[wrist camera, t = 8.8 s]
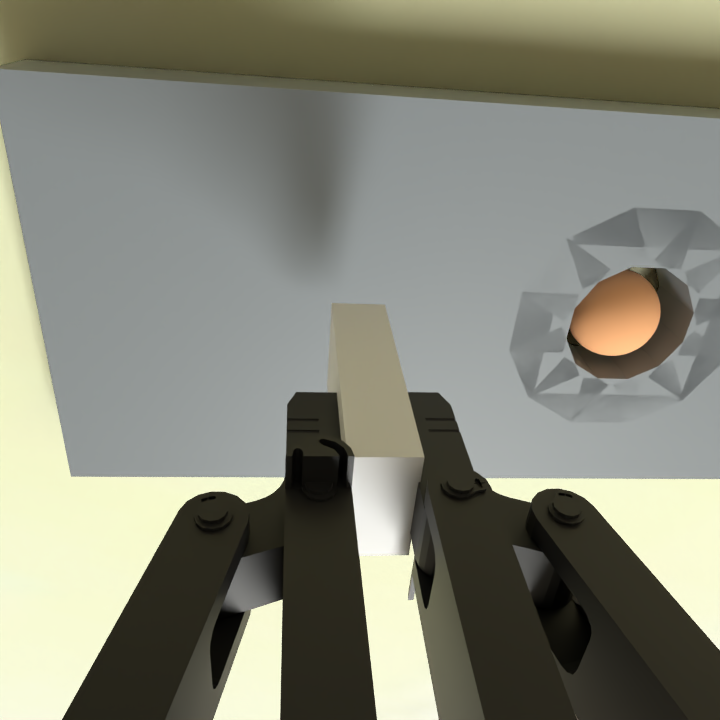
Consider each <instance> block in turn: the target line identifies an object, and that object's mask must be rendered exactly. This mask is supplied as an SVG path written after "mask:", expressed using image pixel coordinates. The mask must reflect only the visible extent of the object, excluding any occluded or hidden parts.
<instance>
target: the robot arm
mask: <svg viewBox="0 0 720 720" xmlns="http://www.w3.org/2000/svg"><path fill="white" fill-rule="evenodd" d="M327 390H328V392H296V393H295V394H294V396H293V397H292V398H291V400H290V401H289V402H288V404H287V434H286V459H285V478H284V481H283V483H282V485H281V486H280V487H279V488H278V489H277V490H276V491H275V492H274V493H272V494H271V495H269V496H267V497H265V498H263V499H260V500H257V501H253V502H249V503H245V502H244V501H242V500H241V499H240V498H239V497H238V496H236V495H232V494H229V493H226V492H208V493H204V494H200V495H197V496H196V497H194V498H192V499H190V500H189V501H187V502H186V503H185V504H184V505H183V506H182V508H181V509H180V510H179V511H178V513H177V515H176V517H175V519H174V520H173V522H172V524H171V526H170V527H169V529H168V531H167V533H166V535H165V536H164V538H163V540H162V542H161V544H160V545H159V547H158V549H157V551H156V552H155V554H154V556H153V558H152V560H151V561H150V563H149V565H148V567H147V569H146V570H145V572H144V574H143V576H142V578H141V579H140V581H139V583H138V585H137V586H136V588H135V590H134V592H133V594H132V595H131V597H130V599H129V601H128V603H127V604H126V606H125V608H124V610H123V612H122V613H121V615H120V617H119V619H118V620H117V622H116V624H115V626H114V628H113V629H112V631H111V633H110V635H109V637H108V638H107V640H106V642H105V644H104V646H103V647H102V649H101V651H100V653H99V654H98V656H97V658H96V660H95V662H94V663H93V665H92V667H91V669H90V671H89V672H88V674H87V676H86V678H85V680H84V681H83V683H82V685H81V687H80V688H79V690H78V692H77V694H76V696H75V697H74V699H73V701H72V703H71V705H70V706H69V708H68V710H67V712H66V713H65V715H64V717H63V719H62V720H213V718H214V715H215V712H216V709H217V707H218V704H219V701H220V698H221V695H222V692H223V690H224V687H225V684H226V681H227V678H228V675H229V673H230V670H231V667H232V664H233V661H234V658H235V656H236V653H237V650H238V647H239V644H240V642H241V639H242V636H243V633H244V630H245V627H246V625H247V622H248V619H249V616H250V611H251V609H254V608H257V607H260V606H263V605H266V604H269V603H272V602H275V601H278V600H282V599H283V614H282V664H281V713H280V720H377V716H376V707H375V698H374V689H373V679H372V670H371V661H370V652H369V643H368V633H367V624H366V615H365V606H364V597H363V587H362V578H361V569H360V560H359V556H372V555H409V549H410V543H411V539H412V544H413V549H414V554H415V557H414V562H413V568H412V574H411V580H410V586H409V593H408V600H413V599H414V593H416V598H417V604H418V609H419V615H420V620H421V625H422V631H423V636H424V641H425V647H426V652H427V658H428V663H429V668H430V674H431V679H432V684H433V690H434V695H435V701H436V706H437V711H438V717H439V720H577V719H576V716H577V718H578V719H579V720H720V650H719V649H718V648H717V647H716V646H715V645H714V644H713V642H712V641H711V640H710V639H709V638H708V637H707V636H706V634H705V633H704V632H703V631H702V630H701V629H700V628H699V626H698V625H697V624H696V623H695V622H694V621H693V620H692V618H691V617H690V616H689V615H688V614H687V613H686V612H685V610H684V609H683V608H682V607H681V606H680V605H679V603H678V602H677V601H676V600H675V599H674V598H673V597H672V595H671V594H670V593H669V592H668V591H667V590H666V589H665V587H664V586H663V585H662V584H661V583H660V582H659V581H658V579H657V578H656V577H655V576H654V575H653V574H652V573H651V571H650V570H649V569H648V568H647V567H646V566H645V565H644V563H643V562H642V561H641V560H640V559H639V558H638V557H637V555H636V554H635V553H634V552H633V551H632V550H631V549H630V547H629V546H628V545H627V544H626V543H625V542H624V540H623V539H622V538H621V537H620V536H619V535H618V534H617V532H616V531H615V530H614V529H613V528H612V527H611V526H610V524H609V523H608V522H607V521H606V520H605V519H604V518H603V516H602V515H601V514H600V513H599V512H598V511H597V510H596V508H595V507H594V506H593V505H592V504H590V503H589V502H588V501H587V500H586V499H585V498H583V497H581V496H579V495H577V494H575V493H573V492H571V491H566V490H562V489H546V490H544V491H541V492H539V493H537V494H536V496H535V497H534V498H533V499H532V502H531V503H530V502H526V501H521V500H517V499H513V498H509V497H506V496H503V495H500V494H498V493H496V492H494V491H492V488H491V486H490V485H489V483H488V482H487V480H486V479H485V478H484V477H482V476H481V475H480V474H478V473H477V472H475V471H474V470H473V467H472V464H471V461H470V458H469V455H468V453H467V450H466V447H465V444H464V441H463V438H462V436H461V433H460V432H459V427H458V424H457V421H455V416H454V413H453V410H452V407H451V405H450V404H449V403H448V402H447V401H446V400H445V399H444V398H443V397H442V396H441V395H440V394H439V393H438V392H407V388H406V384H405V380H404V376H403V373H402V369H401V365H400V361H399V357H398V353H397V349H396V346H395V342H394V338H393V334H392V330H391V326H390V323H389V319H388V315H387V311H386V307H385V305H382V304H347V303H332V306H331V324H330V342H329V360H328V378H327ZM575 714H576V716H575Z"/></svg>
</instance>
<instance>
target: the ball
mask: <svg viewBox="0 0 720 720" xmlns="http://www.w3.org/2000/svg"><path fill="white" fill-rule="evenodd" d="M660 313H661V308H660V301H659V298H658V295H657V293H656V291H655V289H654V288H653V286H652V285H651V284H650V283H649V282H648V281H647V280H646V279H645V278H644V277H643V276H641V275H640V274H638V273H636V272H633V271H631V270H624V271H622V272H620V273H618V274H615V275H613V276H611V277H609V278H607V279H604V280H602V281H600V282H598V283H597V284H596V286H595V287H594V288H593V289H592V290H591V291H590V292H589V293H588V294H587V296H586V297H585V298H584V299H583V300H582V301H581V302H580V303H579V304H578V306H577V307H576V308H575V309H574V313H573V316H572V320H571V324H570V328H569V329H570V331H571V333H572V335H573V336H574V338H575V339H576V340H577V341H578V342H579V343H580V344H581V345H582V346H583V347H585V348H586V349H588V350H590V351H592V352H595V353H597V354H601V355H607V356H617V355H624V354H627V353H630V352H632V351H634V350H637V349H638V348H640V347H641V346H643V345H644V344H645V343H646V342H647V341H648V340H649V339H650V338H651V337H652V335H653V334H654V332H655V330H656V329H657V326H658V324H659V320H660Z"/></svg>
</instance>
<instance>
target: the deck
mask: <svg viewBox="0 0 720 720" xmlns="http://www.w3.org/2000/svg"><path fill="white" fill-rule="evenodd" d="M0 122H1V127H2V132H3V137H4V142H5V147H6V152H7V157H8V162H9V167H10V172H11V177H12V182H13V187H14V192H15V197H16V202H17V208H18V213H19V218H20V223H21V228H22V233H23V238H24V243H25V248H26V253H27V258H28V263H29V268H30V273H31V278H32V283H33V288H34V293H35V298H36V303H37V308H38V313H39V318H40V323H41V328H42V333H43V338H44V343H45V348H46V353H47V358H48V363H49V368H50V373H51V378H52V383H53V388H54V393H55V398H56V403H57V408H58V413H59V418H60V423H61V428H62V433H63V438H64V443H65V448H66V453H67V458H68V463H69V468H70V473H71V476H91V477H285V459H286V434H287V404H288V402H289V401H290V400H291V398H292V397H293V396H294V394H295V393H296V392H328V390H327V378H328V360H329V342H330V324H331V306H332V303H347V304H382V305H385V307H386V311H387V315H388V319H389V323H390V326H391V330H392V334H393V338H394V342H395V346H396V349H397V353H398V357H399V361H400V365H401V369H402V373H403V376H404V380H405V384H406V388H407V392H438V393H439V394H440V395H441V396H442V397H443V398H444V399H445V400H446V401H447V402H448V403H449V404H450V405H451V407H452V410H453V413H454V416H455V421H457V424H458V427H459V432H460V433H461V436H462V438H463V441H464V444H465V447H466V450H467V453H468V455H469V458H470V461H471V464H472V467H473V470H474V471H475V472H477V473H478V474H480V475H481V476H482V477H484V478H626V479H720V109H718V108H704V107H690V106H676V105H662V104H648V103H633V102H619V101H605V100H591V99H577V98H563V97H549V96H534V95H520V94H506V93H492V92H478V91H464V90H450V89H436V88H421V87H407V86H393V85H379V84H365V83H351V82H337V81H323V80H308V79H294V78H280V77H266V76H252V75H238V74H224V73H210V72H195V71H181V70H167V69H153V68H139V67H125V66H111V65H97V64H82V63H68V62H54V61H40V60H26V59H25V60H21V61H17V62H13V63H9V64H5V65H1V66H0ZM631 267H646V268H655V269H656V273H657V277H658V281H659V287H658V290H657V295H658V298H659V301H660V308H661V313H660V320H659V324H658V326H657V329H656V330H655V332H654V334H653V335H652V337H651V338H650V339H649V340H648V341H647V342H646V343H645V344H644V345H643V346H641V347H640V348H638V349H637V350H634V351H632V352H630V353H627V354H624V355H617V356H607V355H601V354H597V353H595V352H592V351H590V350H588V349H586V348H585V347H583V346H573V345H571V344H569V343H568V342H567V335H568V331H569V328H570V324H571V320H572V316H573V313H574V309H575V308H576V307H577V306H578V304H579V303H580V302H581V301H582V300H583V299H584V298H585V297H586V296H587V294H588V293H589V292H590V291H591V290H592V289H593V288H594V287H595V286H596V284H597V283H598V282H600V281H602V280H604V279H607V278H609V277H611V276H613V275H615V274H618V273H620V272H622V271H624V270H627V269H629V268H631Z"/></svg>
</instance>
